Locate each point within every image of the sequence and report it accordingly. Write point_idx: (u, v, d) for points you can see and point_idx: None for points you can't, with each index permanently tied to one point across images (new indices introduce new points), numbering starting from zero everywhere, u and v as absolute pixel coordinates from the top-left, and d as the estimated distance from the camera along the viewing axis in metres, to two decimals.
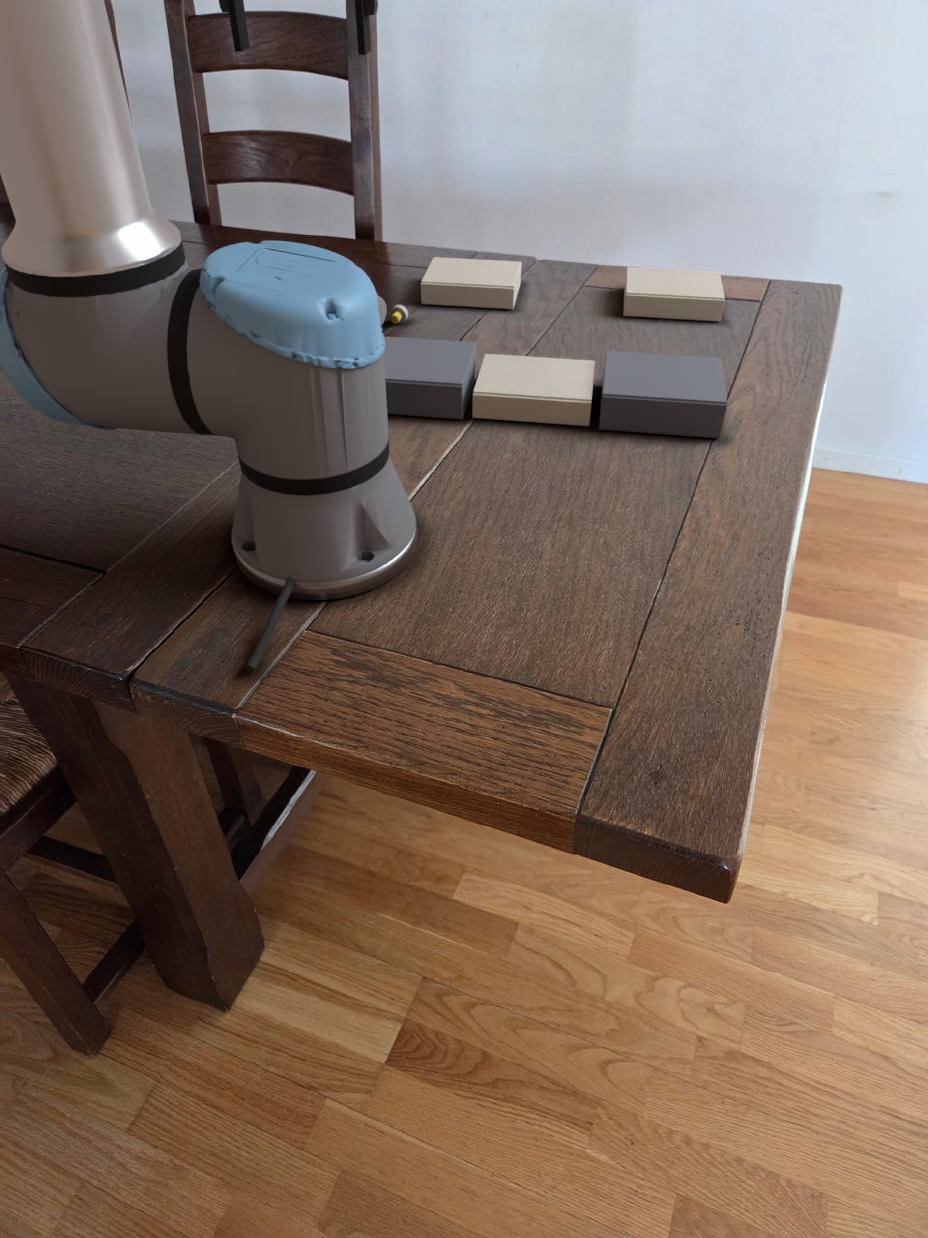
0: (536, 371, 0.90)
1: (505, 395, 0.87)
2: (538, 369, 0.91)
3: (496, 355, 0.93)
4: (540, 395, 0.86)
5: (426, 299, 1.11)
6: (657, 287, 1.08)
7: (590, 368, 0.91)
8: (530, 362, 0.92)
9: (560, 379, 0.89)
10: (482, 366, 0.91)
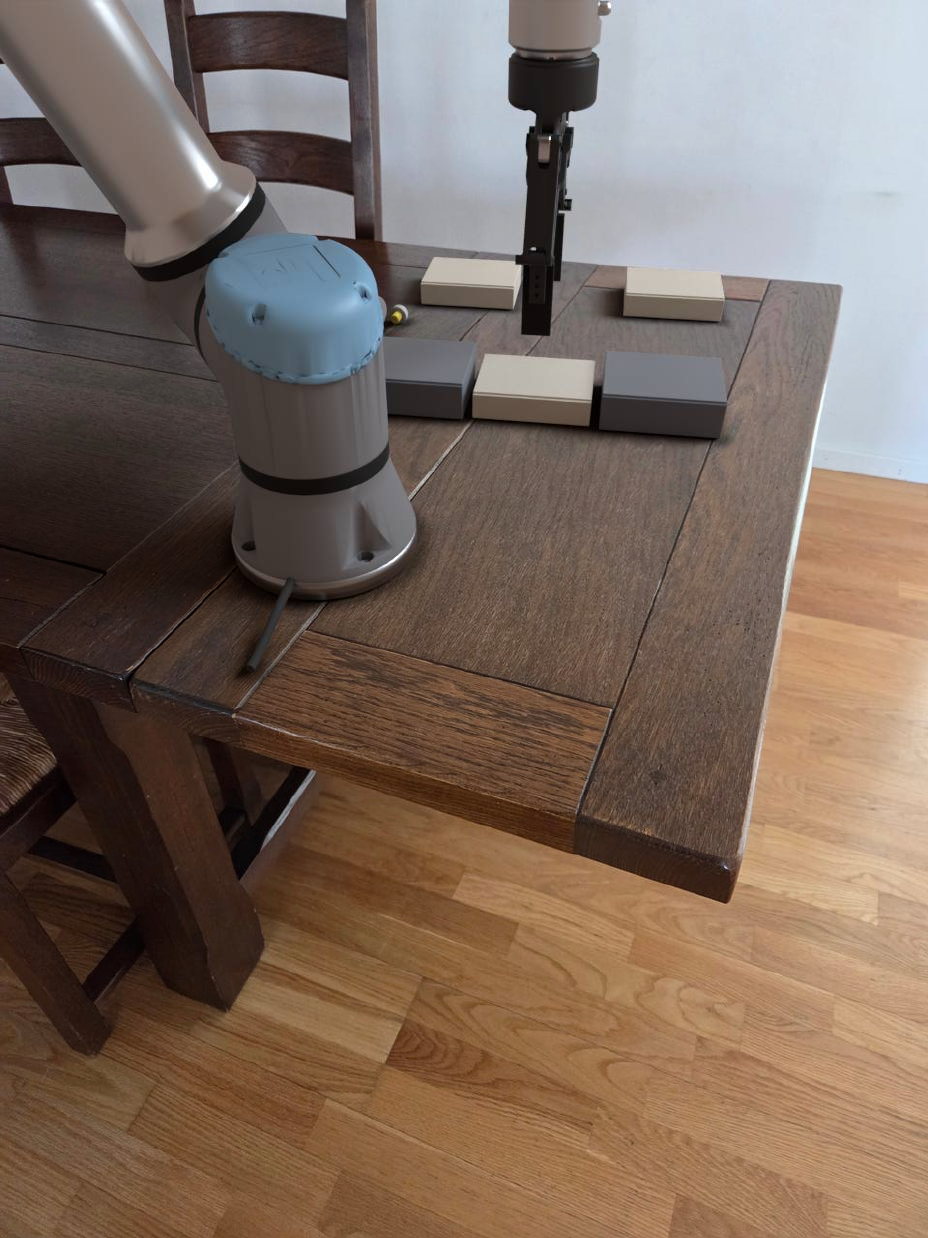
0: (536, 371, 0.90)
1: (505, 395, 0.87)
2: (538, 369, 0.91)
3: (496, 355, 0.93)
4: (540, 395, 0.86)
5: (426, 299, 1.11)
6: (657, 287, 1.08)
7: (590, 368, 0.91)
8: (530, 362, 0.92)
9: (560, 379, 0.89)
10: (482, 366, 0.91)
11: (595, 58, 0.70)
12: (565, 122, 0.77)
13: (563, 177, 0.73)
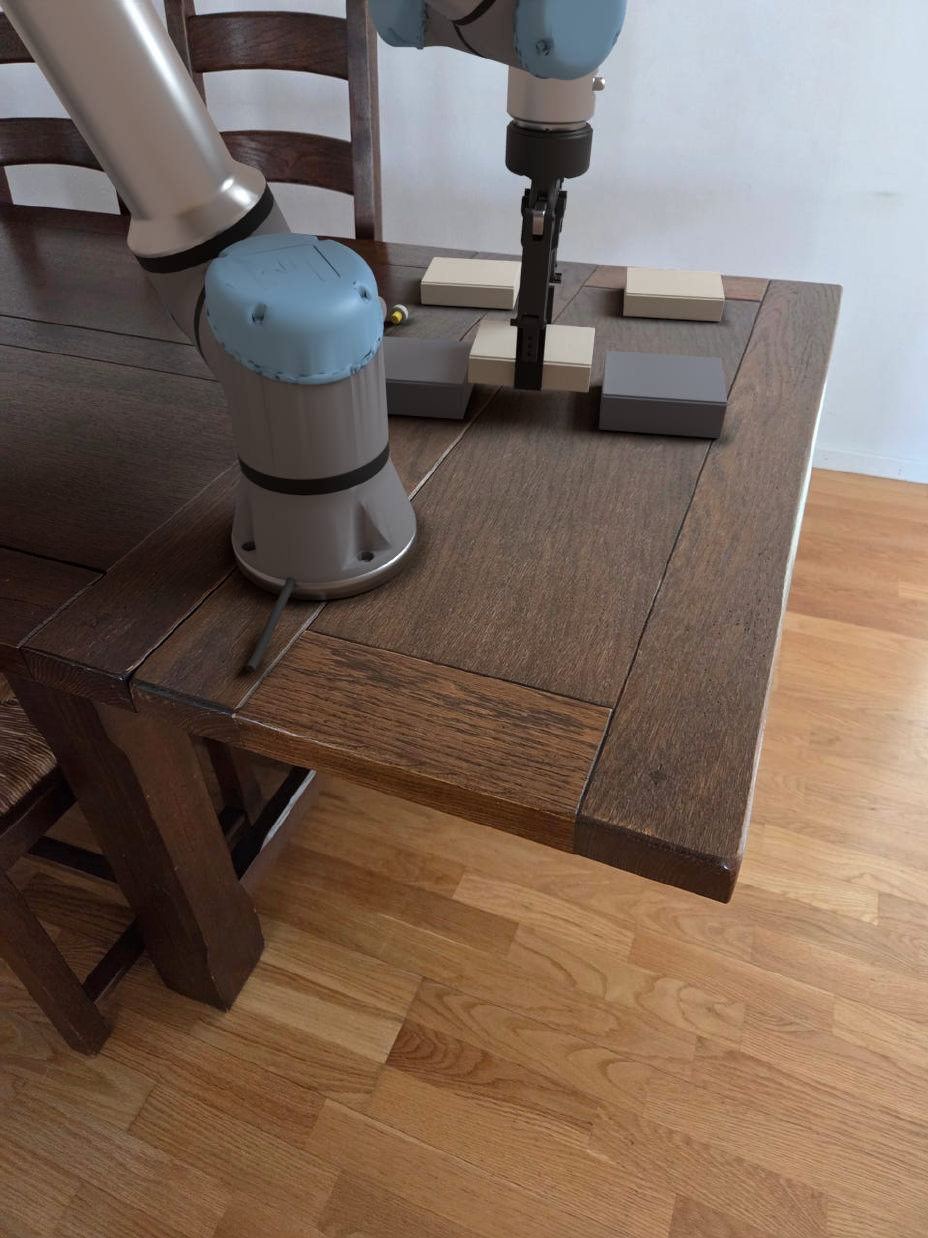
0: None
1: (502, 359, 0.84)
2: None
3: (493, 321, 0.91)
4: None
5: (426, 299, 1.11)
6: (657, 287, 1.08)
7: (589, 334, 0.88)
8: None
9: (559, 345, 0.86)
10: (479, 331, 0.89)
11: (589, 129, 0.73)
12: (559, 185, 0.80)
13: (556, 243, 0.77)
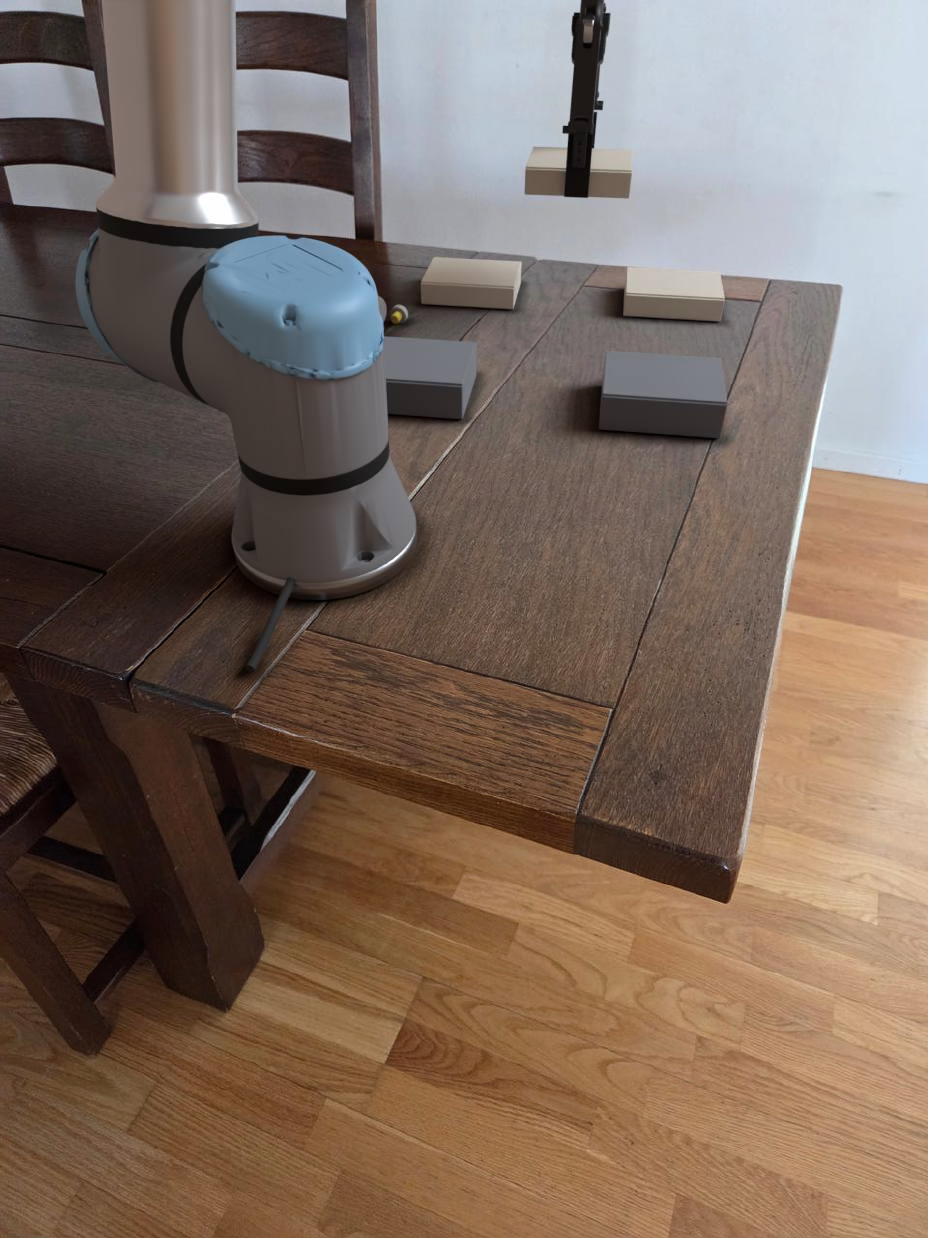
0: None
1: (554, 169, 0.97)
2: None
3: (543, 147, 1.04)
4: None
5: (426, 299, 1.11)
6: (657, 287, 1.08)
7: (629, 153, 1.01)
8: None
9: (602, 159, 0.99)
10: (532, 153, 1.02)
11: None
12: None
13: (602, 56, 0.90)
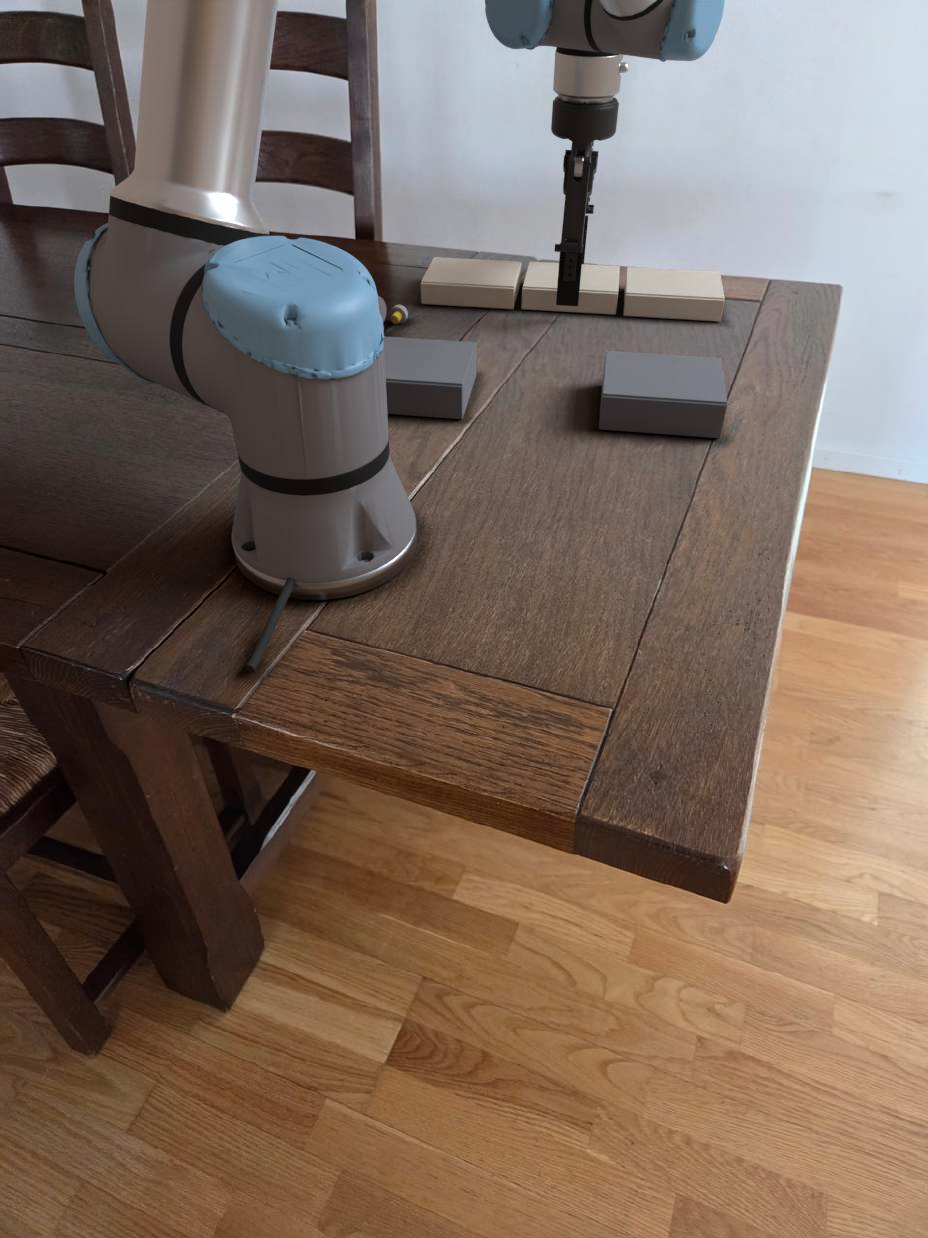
0: None
1: (548, 289, 1.08)
2: None
3: (538, 262, 1.15)
4: None
5: (426, 299, 1.11)
6: (657, 287, 1.08)
7: (615, 270, 1.12)
8: None
9: (592, 278, 1.10)
10: (528, 269, 1.13)
11: (616, 102, 0.97)
12: None
13: (591, 187, 1.00)
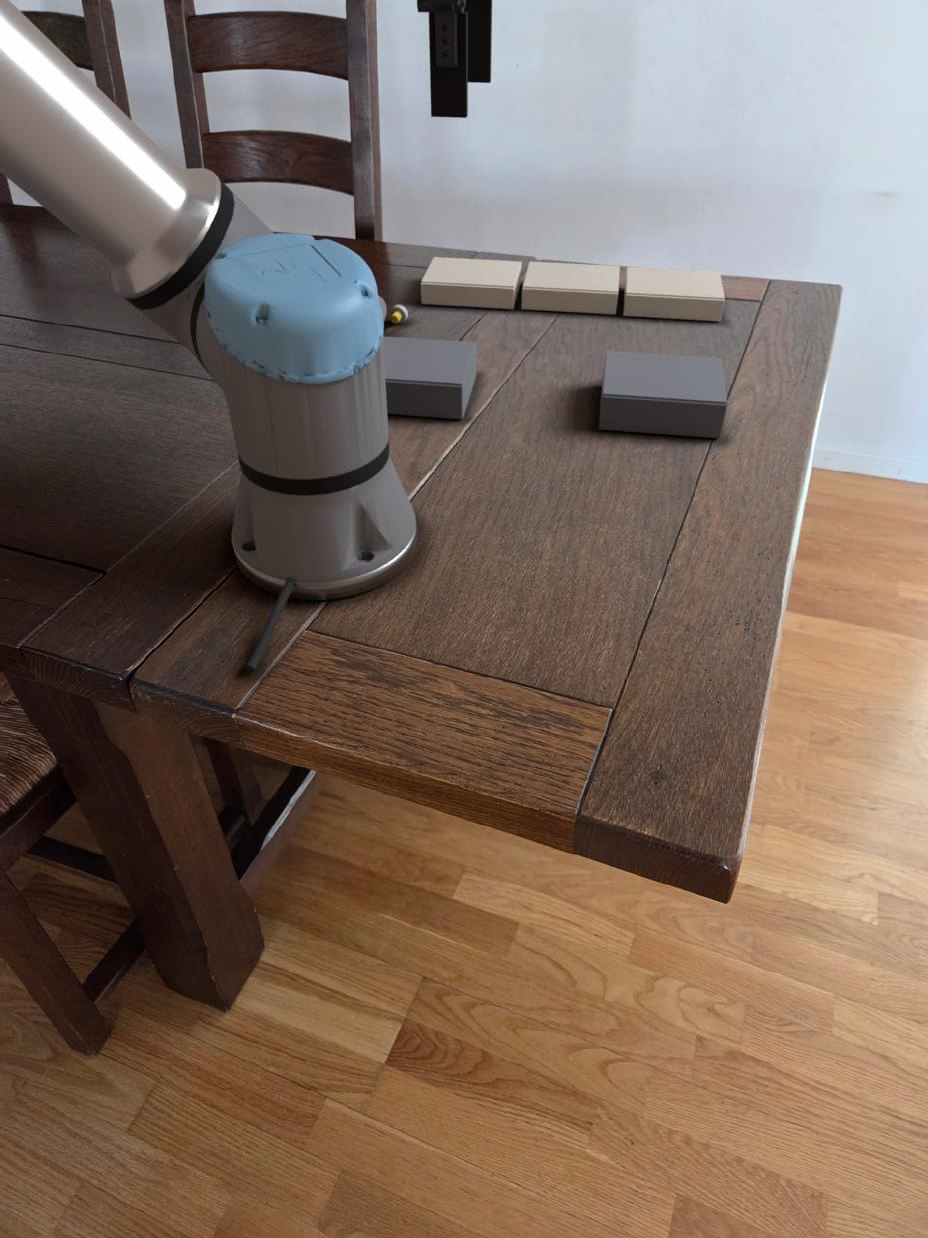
0: (572, 273, 1.12)
1: (548, 289, 1.08)
2: (574, 271, 1.12)
3: (538, 262, 1.15)
4: (576, 288, 1.08)
5: (426, 299, 1.11)
6: (657, 287, 1.08)
7: (615, 270, 1.12)
8: (567, 267, 1.13)
9: (592, 278, 1.10)
10: (528, 269, 1.13)
11: None
12: None
13: None
